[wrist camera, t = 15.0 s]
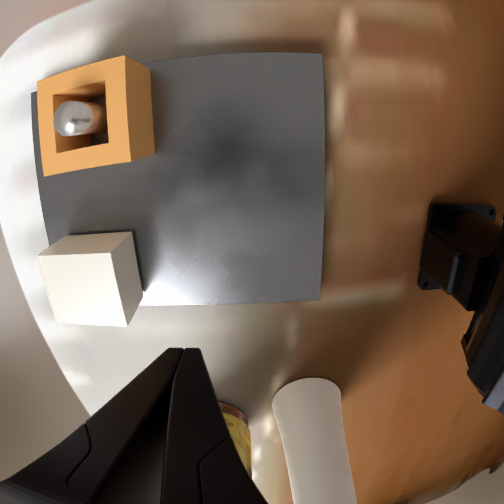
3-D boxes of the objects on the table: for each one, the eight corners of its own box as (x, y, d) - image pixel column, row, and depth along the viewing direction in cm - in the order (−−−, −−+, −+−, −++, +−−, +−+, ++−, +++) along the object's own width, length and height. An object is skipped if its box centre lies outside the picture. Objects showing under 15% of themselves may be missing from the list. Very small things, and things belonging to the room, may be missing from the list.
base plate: (317, 58, 16) (348, 29, 10) (316, 291, 21) (338, 347, 16) (41, 93, 16) (-19, 91, 10) (72, 295, 21) (32, 342, 16)
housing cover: (131, 231, 18) (110, 252, 15) (143, 296, 20) (127, 326, 17) (64, 236, 18) (36, 255, 15) (79, 296, 20) (56, 322, 17)
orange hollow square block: (150, 69, 15) (124, 55, 11) (155, 154, 17) (131, 161, 13) (74, 86, 15) (37, 81, 11) (79, 165, 17) (43, 176, 13)
